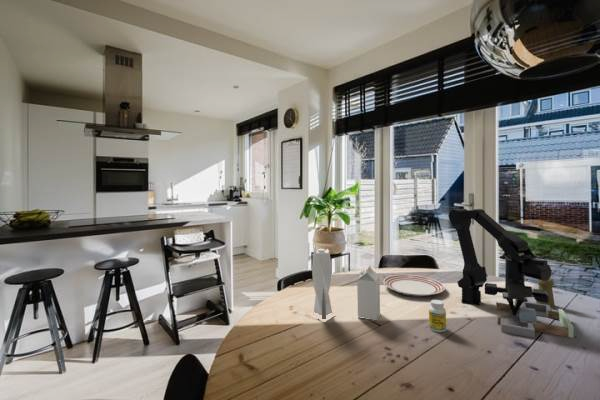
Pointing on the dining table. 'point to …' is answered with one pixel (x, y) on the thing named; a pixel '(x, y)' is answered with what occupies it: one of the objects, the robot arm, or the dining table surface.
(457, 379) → the dining table surface
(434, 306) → the supplement bottle
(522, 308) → the slate block
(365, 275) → the milk carton
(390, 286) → the dinner plate
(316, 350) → the dining table surface
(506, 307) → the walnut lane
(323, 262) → the skyscraper
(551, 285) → the cork
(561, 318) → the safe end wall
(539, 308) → the trap pockets
